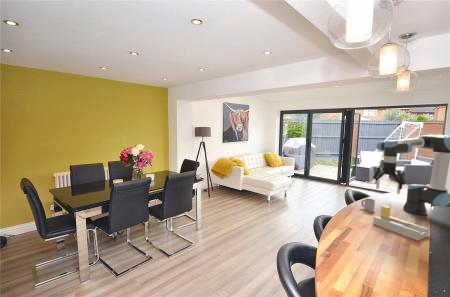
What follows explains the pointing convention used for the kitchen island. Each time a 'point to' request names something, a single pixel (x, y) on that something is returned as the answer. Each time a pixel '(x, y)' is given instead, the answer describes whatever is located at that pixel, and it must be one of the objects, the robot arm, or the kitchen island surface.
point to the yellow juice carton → (385, 212)
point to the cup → (368, 204)
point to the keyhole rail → (402, 227)
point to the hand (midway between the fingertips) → (387, 191)
